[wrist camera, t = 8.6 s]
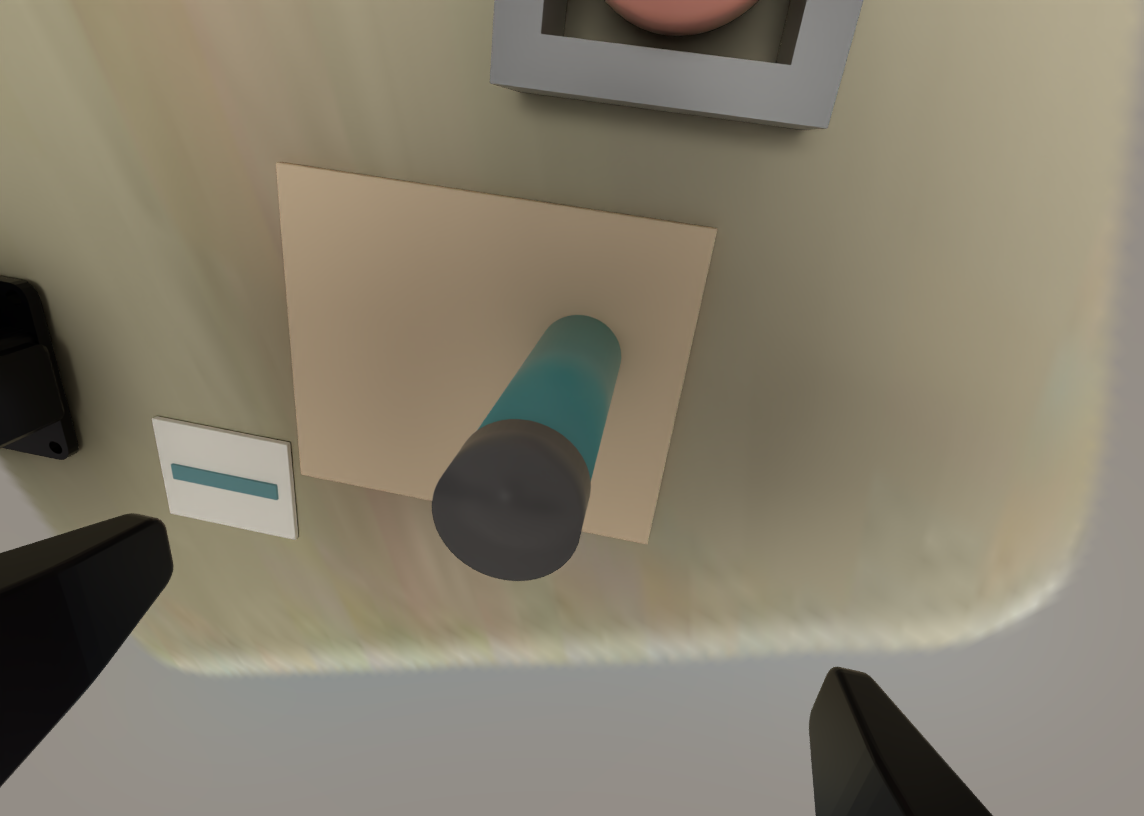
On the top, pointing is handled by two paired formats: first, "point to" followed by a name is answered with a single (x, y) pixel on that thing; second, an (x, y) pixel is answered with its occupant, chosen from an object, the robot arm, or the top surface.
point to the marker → (532, 458)
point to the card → (227, 477)
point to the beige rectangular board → (475, 326)
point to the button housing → (679, 66)
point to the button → (680, 14)
